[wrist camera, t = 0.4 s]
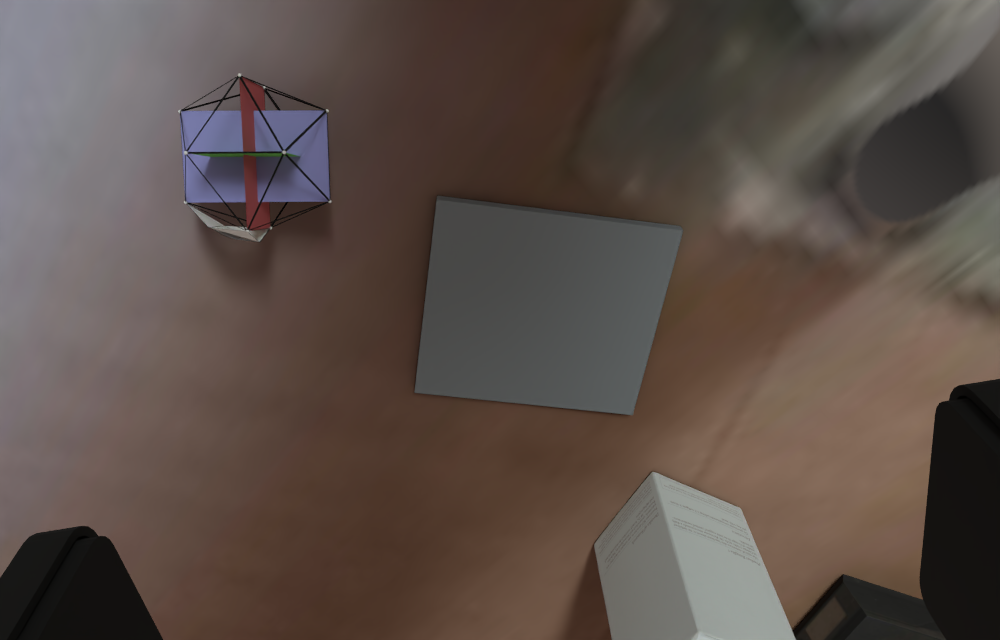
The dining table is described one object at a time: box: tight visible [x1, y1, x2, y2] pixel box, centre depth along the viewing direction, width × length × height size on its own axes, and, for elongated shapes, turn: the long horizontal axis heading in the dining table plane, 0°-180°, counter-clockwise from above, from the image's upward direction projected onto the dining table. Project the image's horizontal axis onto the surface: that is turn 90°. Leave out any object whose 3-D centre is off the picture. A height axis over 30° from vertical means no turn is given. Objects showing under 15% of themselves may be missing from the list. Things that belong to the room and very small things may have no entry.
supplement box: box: [594, 472, 796, 640], centre depth 49 cm, size 7×7×13 cm
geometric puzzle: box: [178, 73, 332, 242], centre depth 38 cm, size 7×7×8 cm
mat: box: [414, 196, 683, 415], centre depth 46 cm, size 12×13×1 cm
